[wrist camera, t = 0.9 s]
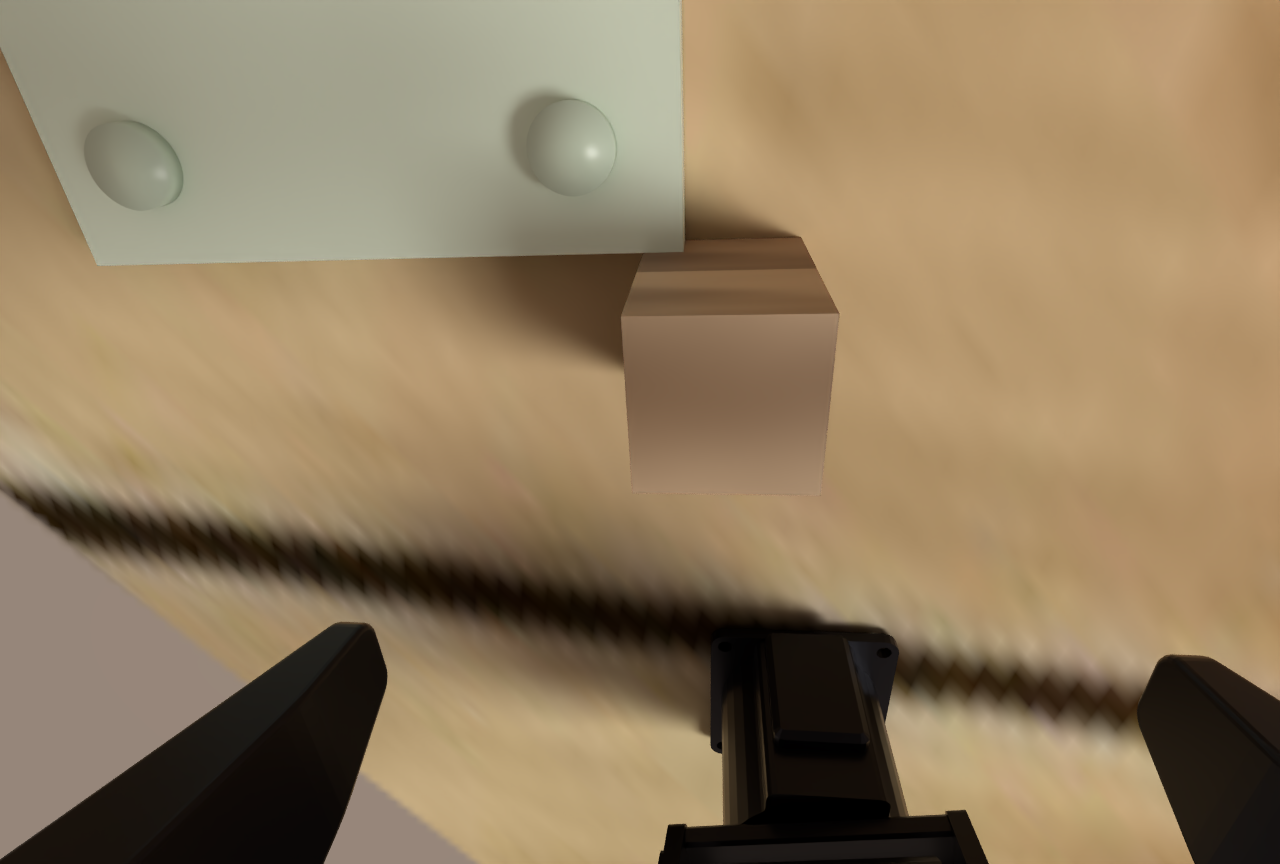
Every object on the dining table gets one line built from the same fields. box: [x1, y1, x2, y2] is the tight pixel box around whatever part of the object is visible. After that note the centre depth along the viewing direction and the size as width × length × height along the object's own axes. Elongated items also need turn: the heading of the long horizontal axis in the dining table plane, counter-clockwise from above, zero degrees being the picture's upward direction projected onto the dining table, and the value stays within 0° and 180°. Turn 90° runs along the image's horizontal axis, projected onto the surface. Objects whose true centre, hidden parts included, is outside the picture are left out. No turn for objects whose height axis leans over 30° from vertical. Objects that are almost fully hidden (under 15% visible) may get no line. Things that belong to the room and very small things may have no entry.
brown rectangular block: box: [621, 237, 839, 496], centre depth 16 cm, size 4×4×6 cm
